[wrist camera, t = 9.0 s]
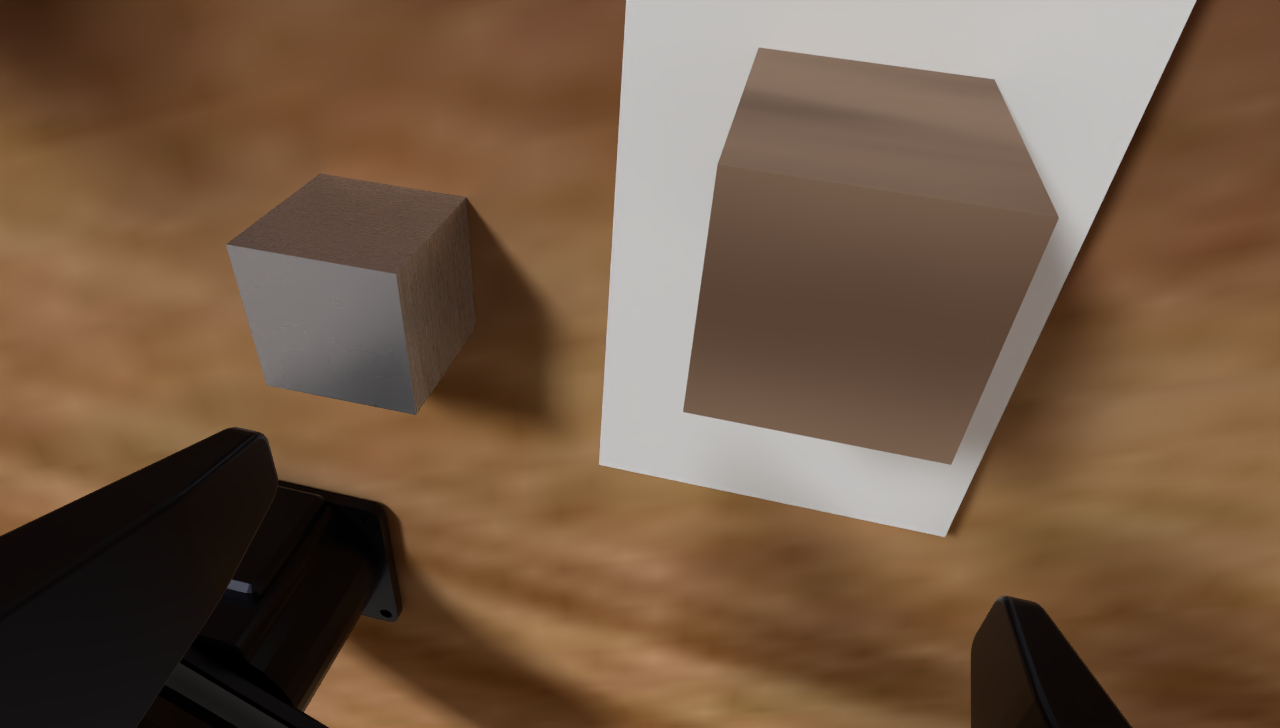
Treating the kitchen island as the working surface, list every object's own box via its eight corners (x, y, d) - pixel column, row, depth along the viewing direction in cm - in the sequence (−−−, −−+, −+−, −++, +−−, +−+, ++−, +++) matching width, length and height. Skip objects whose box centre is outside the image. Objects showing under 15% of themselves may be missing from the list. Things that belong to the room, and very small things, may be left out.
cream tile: (942, 515, 23) (945, 536, 22) (605, 446, 24) (599, 464, 23) (1399, -491, 11) (1434, -508, 10) (668, -526, 12) (658, -543, 11)
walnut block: (924, 281, 18) (950, 464, 13) (726, 248, 18) (682, 412, 14) (994, 79, 15) (1058, 217, 10) (758, 47, 16) (717, 164, 11)
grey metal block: (477, 325, 22) (416, 414, 19) (346, 301, 23) (266, 385, 20) (467, 195, 20) (396, 273, 17) (321, 172, 21) (226, 244, 17)
